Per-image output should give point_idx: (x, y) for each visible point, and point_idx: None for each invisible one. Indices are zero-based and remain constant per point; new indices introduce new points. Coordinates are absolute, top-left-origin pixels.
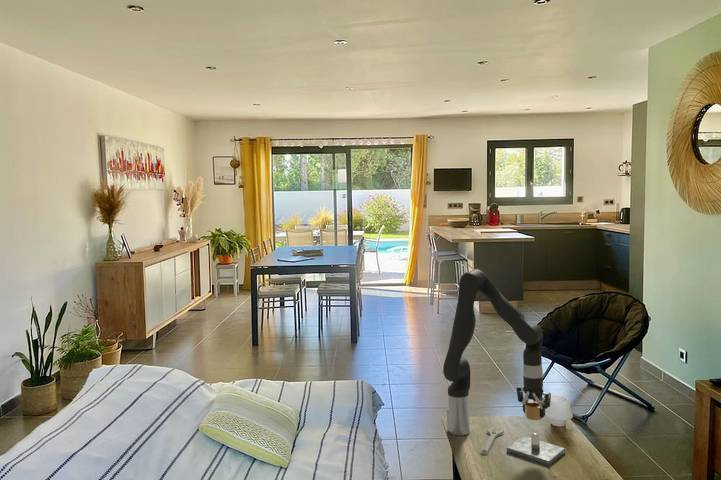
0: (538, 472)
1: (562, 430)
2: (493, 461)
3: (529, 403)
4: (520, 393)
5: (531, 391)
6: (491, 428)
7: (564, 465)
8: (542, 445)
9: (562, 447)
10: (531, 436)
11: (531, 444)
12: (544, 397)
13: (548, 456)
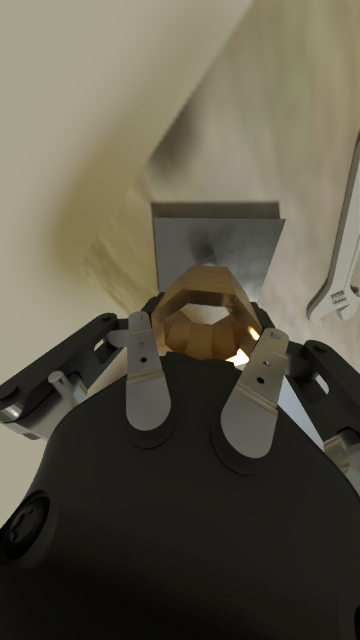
0: (159, 154)
1: None
2: (321, 94)
3: (235, 351)
4: (349, 416)
5: (197, 453)
6: (348, 315)
7: (137, 246)
8: None
9: None
10: None
11: (217, 265)
12: (54, 375)
13: (165, 243)
